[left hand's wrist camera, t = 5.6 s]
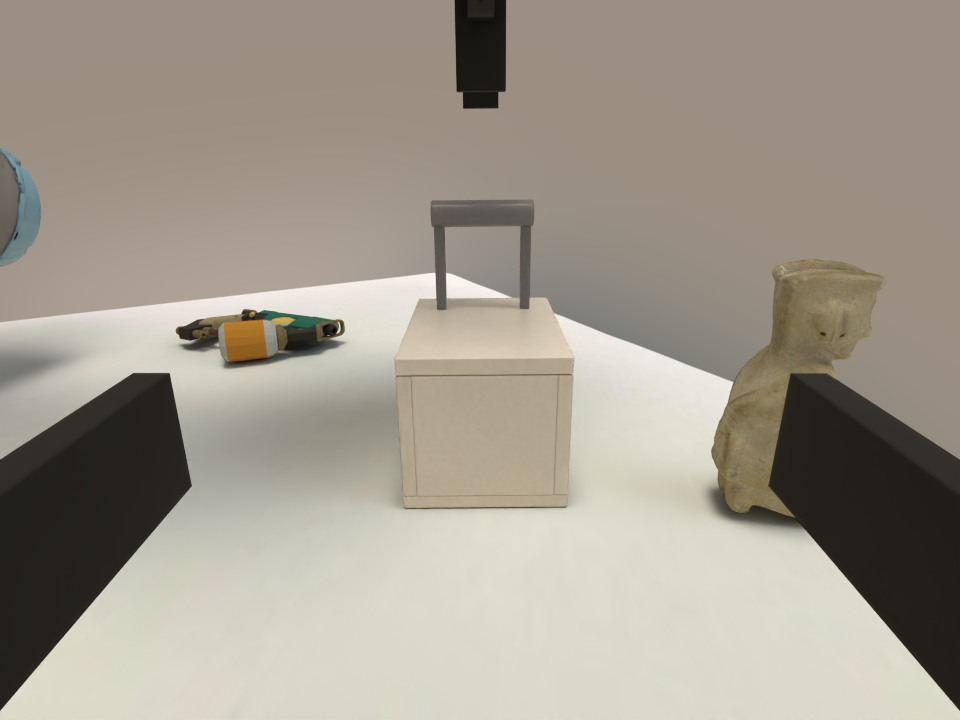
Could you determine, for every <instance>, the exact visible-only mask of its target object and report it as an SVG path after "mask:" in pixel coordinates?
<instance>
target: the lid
mask: <svg viewBox="0 0 960 720" xmlns="http://www.w3.org/2000/svg"><path fill="white" fill-rule="evenodd" d="M533 222H534V202H533V200H454V201H453V200H452V201H431V224H432V227H434V239H435V268H436V296H437V299H419V301H418V304H417V306H416V308H415V311H414V313H413V316H412V318H411V321H410V323H409V326H408V328H407V330H406V333H405V335H404V338H403V340H402V343H401V345H400V348H399V350H398V352H397V355H396V357H395V375H396V376H406V375H513V374H573V371H574V357H573V354H572V352H571V350H570V348H569V346H568V344H567V341H566V339H565V337H564V335H563V333H562V330H561V328H560V326H559V324H558V322H557V320H556V317H555V315H554V313H553V311H552V309H551V306H550V304H549V302H548V300H547V298H530V251H531V226H533ZM489 226H521V236H520V298H465V299H447V298H446V265H445V232H444V227H489Z"/></svg>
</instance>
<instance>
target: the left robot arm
mask: <svg viewBox="0 0 960 720" xmlns="http://www.w3.org/2000/svg"><path fill="white" fill-rule="evenodd" d="M191 486H192V485H191V480H190V475H189V470H188V464H187V459H186V454H185V449H184V444H183V439H182V434H181V429H180V424H179V419H178V414H177V409H176V403H175V398H174V393H173V388H172V383H171V378H170V373H133V374H131V375H130V376H128V377H127V378H125V379H124V380H122V381H121V382H119V383H117V384H116V385H114V386H113V387H111V388H110V389H108V390H107V391H105V392H104V393H102V394H101V395H99V396H97V397H96V398H94V399H93V400H91V401H90V402H88V403H87V404H85V405H84V406H82V407H81V408H79V409H77V410H76V411H74V412H73V413H71V414H70V415H68V416H67V417H65V418H64V419H62V420H61V421H59V422H57V423H56V424H54V425H53V426H51V427H50V428H48V429H47V430H45V431H44V432H42V433H41V434H39V435H37V436H36V437H34V438H33V439H31V440H30V441H28V442H27V443H25V444H24V445H22V446H21V447H19V448H17V449H16V450H14V451H13V452H11V453H10V454H8V455H7V456H5V457H4V458H2V459H0V710H1V709H2V708H3V707H4V706H5V704H6V703H7V702H8V701H9V700H10V699H11V697H12V696H13V695H14V694H15V693H16V692H17V690H18V689H19V688H20V687H21V686H22V685H23V683H24V682H25V681H26V680H27V679H28V677H29V676H30V675H31V674H32V673H33V672H34V670H35V669H36V668H37V667H38V666H39V665H40V663H41V662H42V661H43V660H44V659H45V658H46V656H47V655H48V654H49V653H50V652H51V651H52V649H53V648H54V647H55V646H56V645H57V643H58V642H59V641H60V640H61V639H62V638H63V636H64V635H65V634H66V633H67V632H68V631H69V629H70V628H71V627H72V626H73V625H74V624H75V622H76V621H77V620H78V619H79V618H80V616H81V615H82V614H83V613H84V612H85V611H86V609H87V608H88V607H89V606H90V605H91V604H92V602H93V601H94V600H95V599H96V598H97V597H98V595H99V594H100V593H101V592H102V591H103V590H104V588H105V587H106V586H107V585H108V584H109V582H110V581H111V580H112V579H113V578H114V577H115V575H116V574H117V573H118V572H119V571H120V570H121V568H122V567H123V566H124V565H125V564H126V563H127V561H128V560H129V559H130V558H131V557H132V556H133V554H134V553H135V552H136V551H137V550H138V548H139V547H140V546H141V545H142V544H143V543H144V541H145V540H146V539H147V538H148V537H149V536H150V534H151V533H152V532H153V531H154V530H155V529H156V527H157V526H158V525H159V524H160V523H161V521H162V520H163V519H164V518H165V517H166V516H167V514H168V513H169V512H170V511H171V510H172V509H173V507H174V506H175V505H176V504H177V503H178V502H179V500H180V499H181V498H182V497H183V496H184V495H185V493H186V492H187V491H188V490H189V489H190V487H191ZM768 486H769V487H770V489H771V490H772V491H773V492H774V493H775V495H776V496H777V497H778V498H779V499H780V500H781V502H782V503H783V504H784V505H785V506H786V507H787V509H788V510H789V511H790V512H791V513H792V514H793V516H794V517H795V518H796V519H797V520H798V521H799V523H800V524H801V525H802V526H803V527H804V529H805V530H806V531H807V532H808V533H809V534H810V536H811V537H812V538H813V539H814V540H815V541H816V543H817V544H818V545H819V546H820V547H821V548H822V550H823V551H824V552H825V553H826V554H827V556H828V557H829V558H830V559H831V560H832V561H833V563H834V564H835V565H836V566H837V567H838V568H839V570H840V571H841V572H842V573H843V574H844V575H845V577H846V578H847V579H848V580H849V581H850V582H851V584H852V585H853V586H854V587H855V588H856V590H857V591H858V592H859V593H860V594H861V595H862V597H863V598H864V599H865V600H866V601H867V602H868V604H869V605H870V606H871V607H872V608H873V609H874V611H875V612H876V613H877V614H878V615H879V616H880V618H881V619H882V620H883V621H884V622H885V624H886V625H887V626H888V627H889V628H890V629H891V631H892V632H893V633H894V634H895V635H896V636H897V638H898V639H899V640H900V641H901V642H902V643H903V645H904V646H905V647H906V648H907V649H908V651H909V652H910V653H911V654H912V655H913V656H914V658H915V659H916V660H917V661H918V662H919V663H920V665H921V666H922V667H923V668H924V669H925V670H926V672H927V673H928V674H929V675H930V676H931V677H932V679H933V680H934V681H935V682H936V683H937V685H938V686H939V687H940V688H941V689H942V690H943V692H944V693H945V694H946V695H947V696H948V697H949V699H950V700H951V701H952V702H953V703H954V704H955V706H956V707H957V708H958V709H959V710H960V460H959V459H958V458H956V457H955V456H953V455H952V454H950V453H949V452H947V451H946V450H944V449H943V448H941V447H939V446H938V445H936V444H935V443H933V442H932V441H930V440H929V439H927V438H926V437H924V436H922V435H921V434H919V433H918V432H916V431H915V430H913V429H912V428H910V427H909V426H907V425H906V424H904V423H903V422H901V421H899V420H898V419H896V418H895V417H893V416H892V415H890V414H889V413H887V412H886V411H884V410H883V409H881V408H879V407H878V406H876V405H875V404H873V403H872V402H870V401H869V400H867V399H866V398H864V397H863V396H861V395H859V394H858V393H856V392H855V391H853V390H852V389H850V388H849V387H847V386H846V385H844V384H843V383H841V382H839V381H838V380H836V379H835V378H833V377H832V376H830V375H829V374H827V373H790V378H789V383H788V388H787V393H786V398H785V403H784V409H783V414H782V419H781V424H780V429H779V434H778V439H777V444H776V449H775V454H774V459H773V464H772V470H771V475H770V480H769V485H768Z"/></svg>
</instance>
